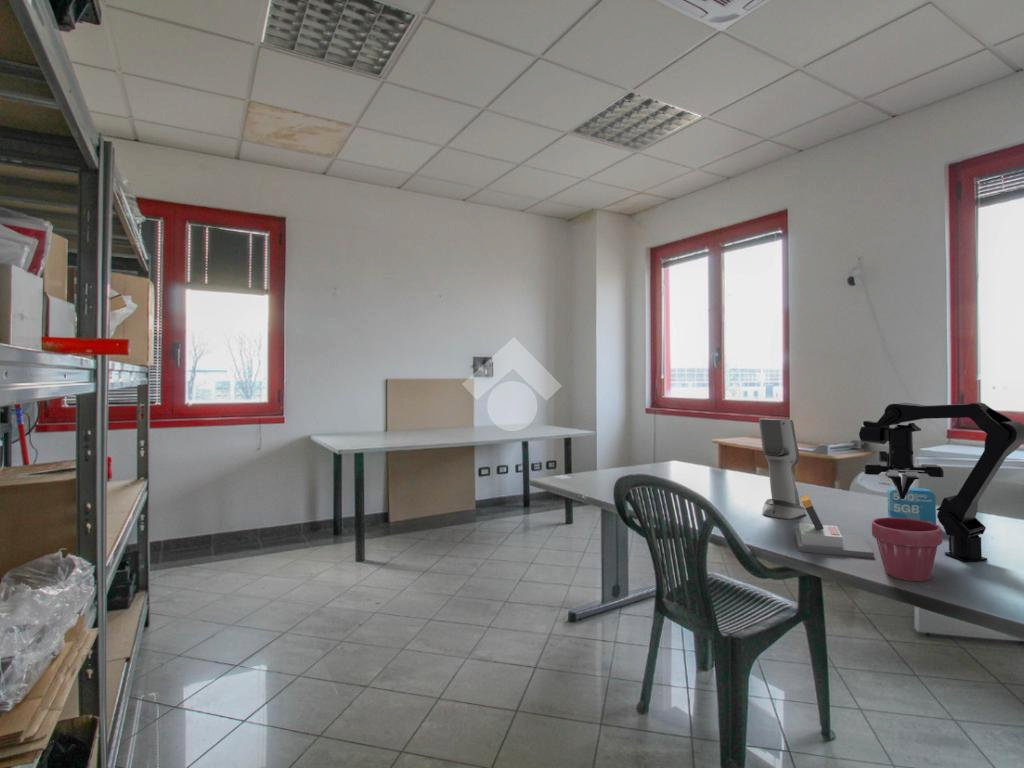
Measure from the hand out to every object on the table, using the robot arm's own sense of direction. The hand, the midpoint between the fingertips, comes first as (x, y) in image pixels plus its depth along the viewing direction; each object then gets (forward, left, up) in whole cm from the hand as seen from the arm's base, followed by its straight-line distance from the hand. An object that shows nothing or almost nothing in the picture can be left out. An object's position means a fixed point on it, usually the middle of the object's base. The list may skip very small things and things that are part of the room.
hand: (902, 498), depth 158 cm
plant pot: (-23, +18, -13) cm, 32 cm away
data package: (+16, -16, -13) cm, 26 cm away
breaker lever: (+2, +24, -8) cm, 25 cm away
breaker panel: (0, +21, -13) cm, 25 cm away
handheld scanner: (+37, +15, -13) cm, 42 cm away
